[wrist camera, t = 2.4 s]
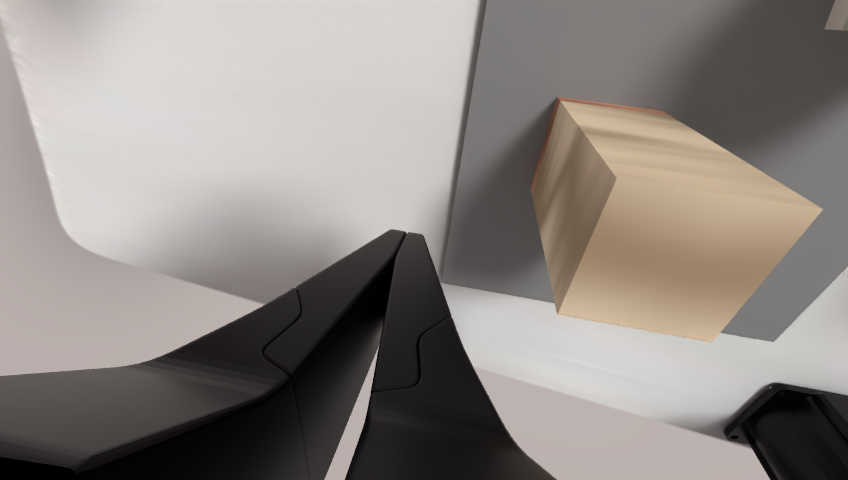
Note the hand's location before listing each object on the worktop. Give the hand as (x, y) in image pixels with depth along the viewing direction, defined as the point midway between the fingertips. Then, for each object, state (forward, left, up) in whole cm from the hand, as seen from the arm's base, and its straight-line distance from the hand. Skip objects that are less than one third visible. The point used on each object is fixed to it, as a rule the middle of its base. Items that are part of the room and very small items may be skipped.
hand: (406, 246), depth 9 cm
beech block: (0, -7, -10) cm, 12 cm away
